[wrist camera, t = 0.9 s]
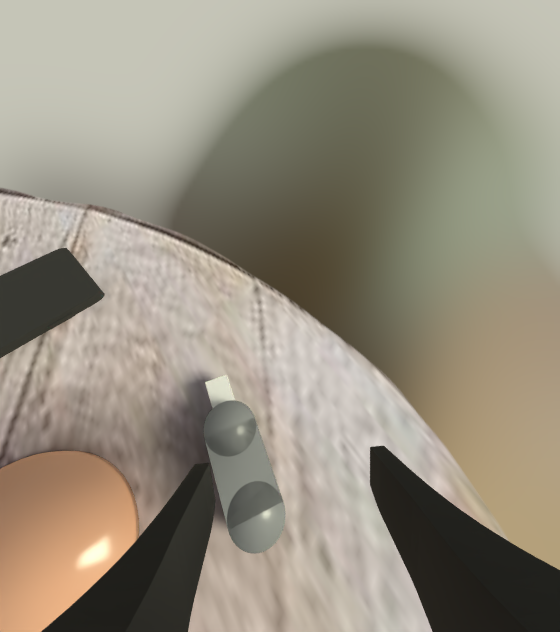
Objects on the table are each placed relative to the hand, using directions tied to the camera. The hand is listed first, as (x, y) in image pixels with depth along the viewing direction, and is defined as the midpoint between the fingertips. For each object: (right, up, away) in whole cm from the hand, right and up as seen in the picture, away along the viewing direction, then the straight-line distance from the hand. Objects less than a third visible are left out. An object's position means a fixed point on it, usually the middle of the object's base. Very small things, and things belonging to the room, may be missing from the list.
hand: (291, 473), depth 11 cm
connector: (-4, -5, +12) cm, 14 cm away
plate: (-18, -11, +8) cm, 23 cm away
